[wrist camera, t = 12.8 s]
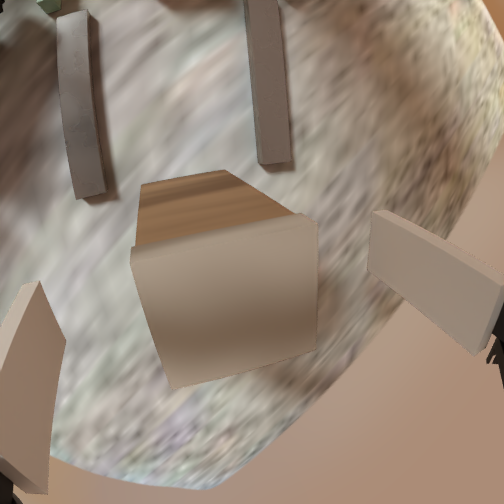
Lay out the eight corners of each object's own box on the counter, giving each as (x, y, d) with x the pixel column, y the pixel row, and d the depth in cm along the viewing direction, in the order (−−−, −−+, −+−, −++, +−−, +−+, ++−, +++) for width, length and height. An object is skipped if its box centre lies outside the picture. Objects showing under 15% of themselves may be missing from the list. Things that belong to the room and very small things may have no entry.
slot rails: (60, 21, 13) (56, 17, 12) (271, -2, 16) (276, -7, 15) (79, 196, 18) (76, 199, 17) (285, 159, 21) (291, 161, 21)
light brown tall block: (139, 183, 19) (129, 262, 8) (225, 167, 20) (318, 223, 10) (154, 257, 21) (172, 389, 11) (234, 240, 23) (315, 349, 12)
